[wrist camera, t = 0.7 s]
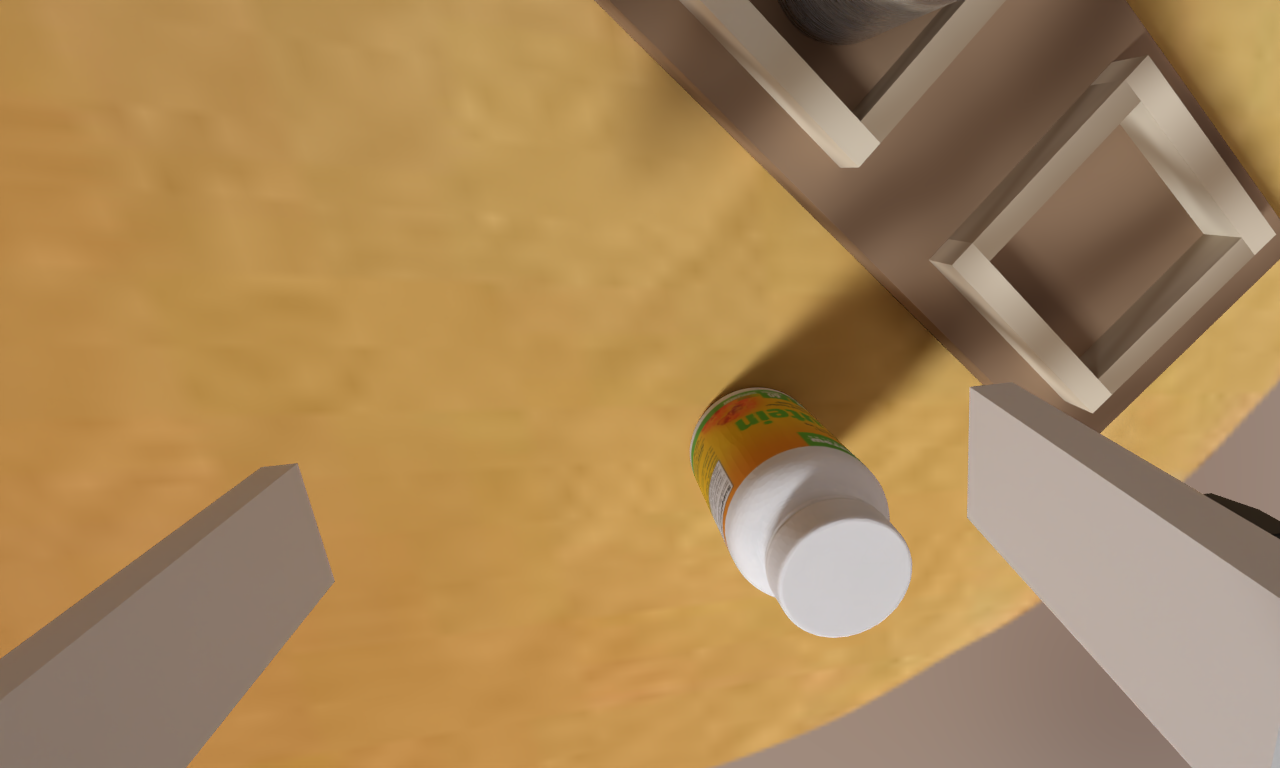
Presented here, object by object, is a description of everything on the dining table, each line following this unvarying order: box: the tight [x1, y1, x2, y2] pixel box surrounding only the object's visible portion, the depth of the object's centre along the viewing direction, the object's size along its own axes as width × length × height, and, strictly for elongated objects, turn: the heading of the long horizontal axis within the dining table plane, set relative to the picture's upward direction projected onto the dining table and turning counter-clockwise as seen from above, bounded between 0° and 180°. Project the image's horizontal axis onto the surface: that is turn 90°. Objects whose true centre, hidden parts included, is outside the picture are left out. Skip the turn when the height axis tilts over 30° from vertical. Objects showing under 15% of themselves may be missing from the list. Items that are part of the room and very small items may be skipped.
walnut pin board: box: [595, 0, 1280, 434], centre depth 23 cm, size 28×12×3 cm, turn 49°
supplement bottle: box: [690, 387, 912, 638], centre depth 23 cm, size 5×5×10 cm
